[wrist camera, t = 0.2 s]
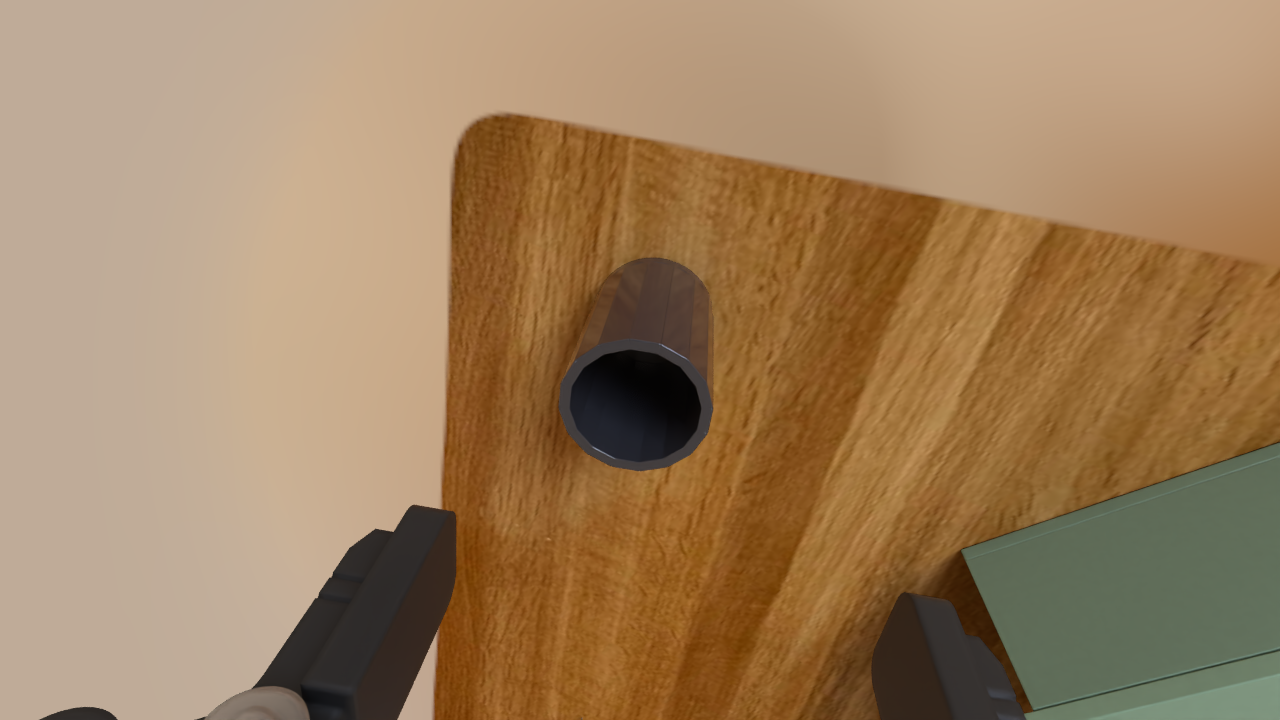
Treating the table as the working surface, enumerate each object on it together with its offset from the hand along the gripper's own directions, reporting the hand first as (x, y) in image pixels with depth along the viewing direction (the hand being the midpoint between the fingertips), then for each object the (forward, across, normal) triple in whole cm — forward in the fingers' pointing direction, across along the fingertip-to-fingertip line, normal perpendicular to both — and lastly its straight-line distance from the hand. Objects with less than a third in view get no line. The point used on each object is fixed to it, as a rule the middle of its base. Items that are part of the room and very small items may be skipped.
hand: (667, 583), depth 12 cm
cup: (+18, +1, +3) cm, 18 cm away
